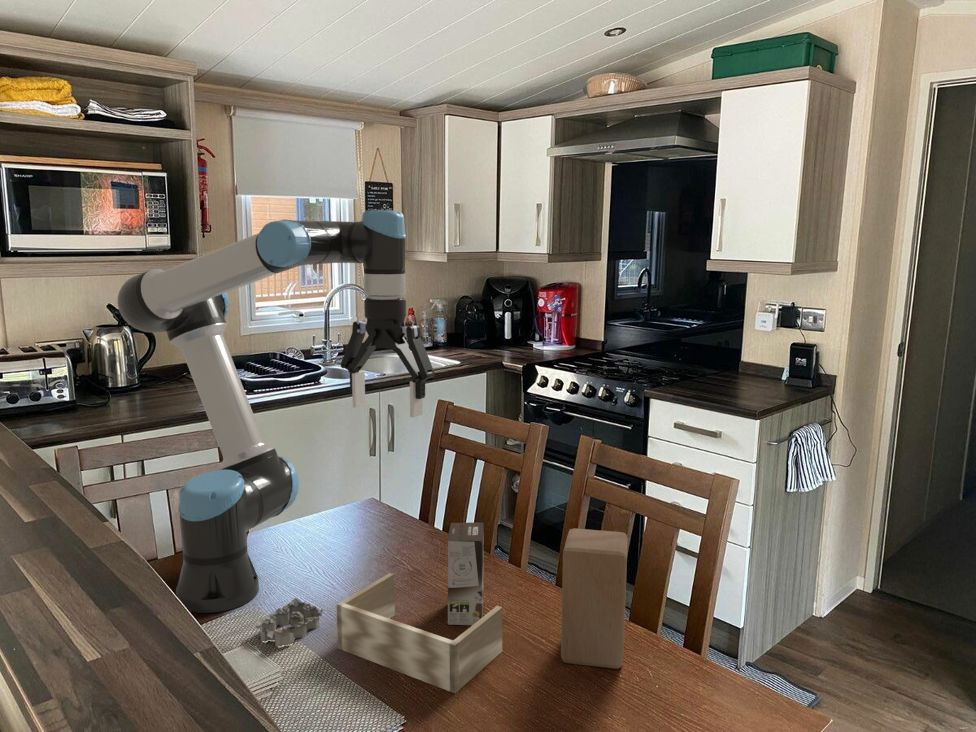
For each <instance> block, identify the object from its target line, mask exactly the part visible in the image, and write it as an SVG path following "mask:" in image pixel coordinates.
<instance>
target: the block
mask: <svg viewBox="0 0 976 732" xmlns="http://www.w3.org/2000/svg"><path fill="white" fill-rule="evenodd" d="M628 539H629V538H628V535H627V533H625V532H622V531H610V530H596V529H587V528H570V529H569V530H568V533H567V536H566V539H565V544H564V547H563V552H562V580H561V581H562V583H561V584H562V585H561V587H562V589H561V630H560V631H561V632H560V633H561V634H560V635H561V636H560V639H561V640H560V657H561V659H562V662H564V663H566V664H573V665H581V666H582V665H583V666H588V667H589V666H590V667H591V666H592V667H599V668H607V669H615V670H617V669H620V668H621V666H622V665H623V662H624V647H625V646H624V643H625V624H626V623H625V618H626V616H625V615H626V596H627V595H626V594H627V593H626V591H627V590H626V588H627V567H628V566H627V563H628V544H629V543H628V541H629V540H628Z"/></svg>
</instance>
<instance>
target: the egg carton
mask: <svg viewBox="0 0 976 732" xmlns="http://www.w3.org/2000/svg"><path fill="white" fill-rule="evenodd" d="M323 612H324V609H318V608H317V606H316V605H311V604H310V603H307V602H306V601H304V602H302V601H301V600H300V599H298V598H297V597H294V598H293V599H292V600H291V601H290V602H288V604H287V605H283V606H282V608H281V607H278V608H277V609H276V610H275V611H273V612H271V613H270V614H269V615H267V616H264V617H261V618H259V619H258V620H257V623H256V624H255V626H254V627H255V629H256V630H260V632H259V633H260V635H259V636H260V642H261V641H267V640H275V642H274V643H275V644H274V645H275V646H276V645H277V646H282V645H288V644H289V645H290V644H292V643H293V642H294V643H295V639H298V638H301V639H303V638H305V637H306V636H307V633H308V631H309V630H313V629H314V630H315V629H318V628H320V623H319V622H320V618H321V617H322V615H323ZM289 624H290V625H289ZM278 625H279V626H278ZM287 625H288V626H287ZM276 626H277V627H283V628H282V630H281V631H278V630H277V627H276ZM284 626H285V627H284ZM275 630H276V631H275ZM294 638H295V639H294Z"/></svg>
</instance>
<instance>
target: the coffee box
mask: <svg viewBox="0 0 976 732" xmlns="http://www.w3.org/2000/svg"><path fill="white" fill-rule="evenodd" d="M484 528H485V527H484V522H475V521H473V522H451V523H450V525H449V529H448V536H447V540H446V541H447V625H450V626H454V625H455V626H457V625H458V626H472V625H474V624H475V623H476V622H477V621H479V620H480V619H481V618H482V617H483V612H484V611H483V610H484V601H485V600H484V596H485V595H484V592H485V591H484V589H485V588H484V587H485V585H484V584H485V583H484V582H485V579H484V577H485V564H484V563H485V557H484V555H485V551H484V550H485V547H484V545H485V544H484V543H485V541H484V540H485V539H484V538H485V537H484V536H485V533H484Z"/></svg>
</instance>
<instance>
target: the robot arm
mask: <svg viewBox="0 0 976 732" xmlns="http://www.w3.org/2000/svg"><path fill="white" fill-rule="evenodd" d="M361 218H362V219H361V220H360V221H332V220H331V221H330V220H295V219H294V220H293V219H280V220H274V221H270V222H268V223H266V224H265V225H263V227H262V228H261V230H260V231H259V232H258V233H255V234H253V235H250V236H248V237H245V238H243V239H240V240H238V241H235V242H233V243H231V244H228V245H226V246H222V247H221V248H218V249H216V250H215V249H214V250H213V251H210V252H208V253H205V254H203V255H201V256H198V257H196V258H193V259H190V260H188V261H186V262H182V263H181V264H178V265H176V266H172V267H170V268H167V269H165V270H164V269H161V268H153V269H150V270H147V271H145V272H142V273H139V274H137V275H134V276H132V277H130V278H129V279H127V280H126V281H125V282H124V283H123V284H122V286H121V288H120V289H119V292H118V295H117V308H118V312H119V313H120V315H121V317H122V319H123V320H124V321H125V322H126V323H127V324H128V325H129V326H131V328H134V329H136V330H138V331H140V332H144V333H162V332H163V333H164V332H165V333H166V336H167V338H168V340H169V343H170V345H173V346H175V347H177V348H179V349H180V350H181V351H182V355H183V357H184V360H185V362H186V364H187V367H188V369H189V370H188V371H189V372H190V375H191V379H192V380H193V382H194V386H195V388H196V390H197V393H198V395H199V398H200V401H201V404H202V406H203V408H204V411H205V413H206V416H207V418H208V421H209V423H210V424H209V425H210V427H211V430H212V431H213V433H214V437H215V439H216V441H217V444H218V446H219V450H220V452H221V455H222V457H223V458H222V459H223V460H222V461H221V464H220V466H219V468H218V469H216V470H212V471H210V472H207V471H205V472H203V473H200V474H197V475H195V476H193V477H191V478H189V480H187V481H186V482H185V483H184V484H183V485H182V486H181V488H180V490H179V495H178V496H179V499H178V500H179V503H178V513H179V521H180V522H179V524H180V531H181V532H180V534H181V536H180V537H181V545H182V556H183V557H182V560H183V563H182V567H181V570H180V574H179V578H178V582H177V585H176V588H175V596H176V595H177V596H178V598H179V599H180V600H181V601H182V602H183V603H184V605H185V606H186V607H187V608H188V609H189V610H190V611H189V612H190V613H195V612H196V614H197V613H199V614H209V613H210V614H212V613H220V612H225V611H229V610H233V609H236V608H238V607H241V606H243V605H245V604H247V603H249V602H251V601H252V600H253V599H254V598H256V596H257V595H258V593H259V591H260V585H259V584H260V583H259V582H260V580H259V577H258V576H259V575H258V574H257V571H256V569H255V567H254V565H253V562H252V559H251V558H250V555H249V551H248V541H247V538H248V536H247V535H248V534H247V531H249V530H251V529H253V528H255V527H257V526H259V525H261V524H263V523H265V522H266V521H268V520H269V519H271V518H274V517H277V516H279V515H281V514H282V513H284V512H285V510H287V509H289V508H290V507H291V506H292V505H293V503H294V502H295V501H296V499H297V496H298V494H299V490H300V481H299V480H300V479H299V474H298V472H297V470H296V468H295V466H294V464H293V463H292V462H291V461H290V460H287V458H286V457H283V456H280V455H278V453H277V450H276V447H275V446H274V445H271V444H269V443H266V442H265V440H264V437H263V435H262V433H261V429H260V427H259V424H258V422H257V419H256V417H255V414H254V412H253V410H252V406H251V404H250V402H249V399H248V397H247V393H246V391H245V389H244V386H243V383H242V380H241V378H240V376H239V372H238V370H237V368H236V366H235V363H234V360H233V357H232V356H231V353H230V350H229V348H228V344H227V342H226V339H225V338H224V333H225V331H226V329H227V326H228V324H227V321H226V319H225V318H226V316H227V315H228V312H229V309H228V307H229V306H230V298H229V295H228V293H229V292H231V291H233V290H237V289H239V288H242V287H245V286H247V285H251V284H253V283H256V282H258V281H261V280H263V279H267V278H269V277H272V276H274V275H277V274H279V273H283V272H286V271H289V270H291V269H294V268H296V267H302V266H308V265H311V266H312V265H323V264H324V265H325V264H339V263H340V264H362V265H363V294H364V295H365V296H367V297H366V298H365V299H364V300H363V301H364V303H363V305H364V308H363V309H364V318H365V319H366V320H364V319H363V320H356V321H353V322H352V328H351V329H352V331H351V334H350V338H349V340H348V343H347V345H346V348H345V351H344V354H343V357H342V359H341V362H340V368H342V369H345V370H347V371H348V373H349V387H350V389H351V390H352V393H351V394H352V408H355V409H356V408H357V409H358V408H359V407H364V406H366V386H365V385H366V384H365V383H366V380H365V371H363V370H364V369H363V368H364V366H365V365H366V363H367V362H368V360H369V359H370V357H372V355H373V353H374V351H375V350H376V349H377V348H379V349H380V348H383V349H388V350H390V349H391V350H392V351H393V352H394V353H396V355H397V356H398V357H399V360H400V361H401V363H402V364H403V366H404V367H405V369H406V370H407V372H408V373H409V375H410V376H411V378H412V380H411V381H409V417H410V418H417V417H419V416H422V415H423V399H424V398H425V397H426V381H427V379H431V378H434V377H435V376H436V372H435V371H434V368H433V366H432V365H433V364H432V362H431V361H430V360H431V359H430V358H429V356H428V355H429V354H428V353H427V351H426V348H425V345H424V343H423V340H422V338H421V337H422V336H421V330H420V326H419V325H418V324H415V325H414V324H413V325H410V326H406V324H405V319H406V317H407V300H406V299H405V297H403V296H405V295H406V293H407V292H406V287H407V286H406V238H407V235H406V228H405V227H406V226H405V225H406V224H405V216H404V214H403V212H401V211H399V210H387V209H385V210H384V209H381V210H380V209H378V210H377V209H376V210H375V209H374V210H369V209H368V210H365V211H363V213H362V217H361ZM366 333H367V335H368V336H367V337H366V339H365V335H366ZM364 339H365V340H364ZM192 611H193V612H192Z"/></svg>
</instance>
